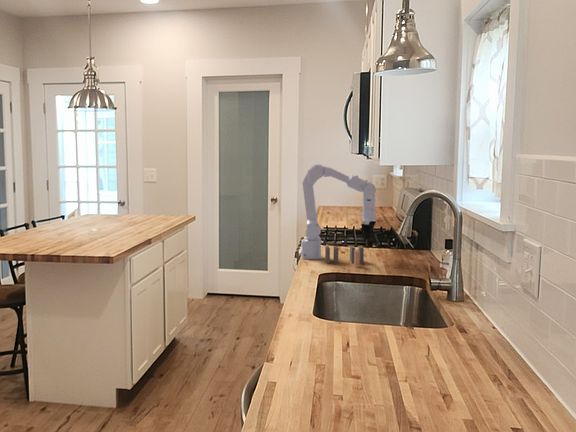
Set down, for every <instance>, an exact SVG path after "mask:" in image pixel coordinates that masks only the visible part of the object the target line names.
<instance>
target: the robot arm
mask: <svg viewBox="0 0 576 432" xmlns="http://www.w3.org/2000/svg"><path fill="white" fill-rule="evenodd" d="M322 177H324V178H327V177H331V178H334V179H337V180H338V181H341V182H344V183H346V185H347V187H348V188H350V189H353V190H355V191H358V192H360V193H363V197H362V218H361V221H363V223H361V224H360V225H361V229H362V231H363V235H364V240H370V239H371V237H373V234H374V233H373V232H374V228H375V225H376V224H377V221H378V219H379V218H378V217H376V194H375V193H376V190H377V189H376V186H375V185H374V183H372V182H370V181H369V180H368V179H362V178H360V177H359V175H357V174H355V175H350V176H349V175H346V174H344V173H342V172H340V171H338V170H337V169H334V168H333V167H329V166H325V165H324V166H323V165H322V164H314V165H313V166H311V167H310V168H309V169H308V170H307V172H306V175H305V176H304V178H303V180H302V188H303V189H302V190H303V197H304V206H305V215H306V230H305V235H306V237H305V239H301V251H300V255H301V259H302V260H323V256H322V237H321V236H320V234H321V233H322V230H321V229H322V228H321V226H320V225H319V220H318V215H317V209H316V200H315V199H316V198H315V191H314V185H315V184H316V182H318V180H319V179H321V178H322Z"/></svg>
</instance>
